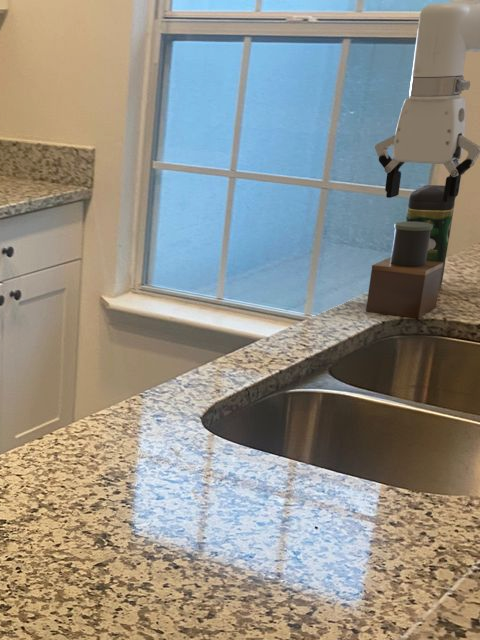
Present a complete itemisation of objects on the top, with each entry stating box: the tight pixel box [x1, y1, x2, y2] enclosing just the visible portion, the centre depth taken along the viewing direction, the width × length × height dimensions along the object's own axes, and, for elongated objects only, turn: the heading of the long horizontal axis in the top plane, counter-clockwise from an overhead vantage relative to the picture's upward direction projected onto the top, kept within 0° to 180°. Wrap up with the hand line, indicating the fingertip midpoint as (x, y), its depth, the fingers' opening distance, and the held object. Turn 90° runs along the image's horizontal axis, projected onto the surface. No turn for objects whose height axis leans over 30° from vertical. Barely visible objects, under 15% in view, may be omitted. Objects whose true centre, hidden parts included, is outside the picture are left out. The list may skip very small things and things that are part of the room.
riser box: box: [365, 256, 444, 319], centre depth 178 cm, size 9×9×8 cm
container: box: [390, 221, 433, 267], centre depth 175 cm, size 6×6×7 cm
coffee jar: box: [405, 184, 457, 289], centre depth 191 cm, size 10×8×19 cm
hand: (420, 198), depth 172 cm, fingers open, 9 cm apart
